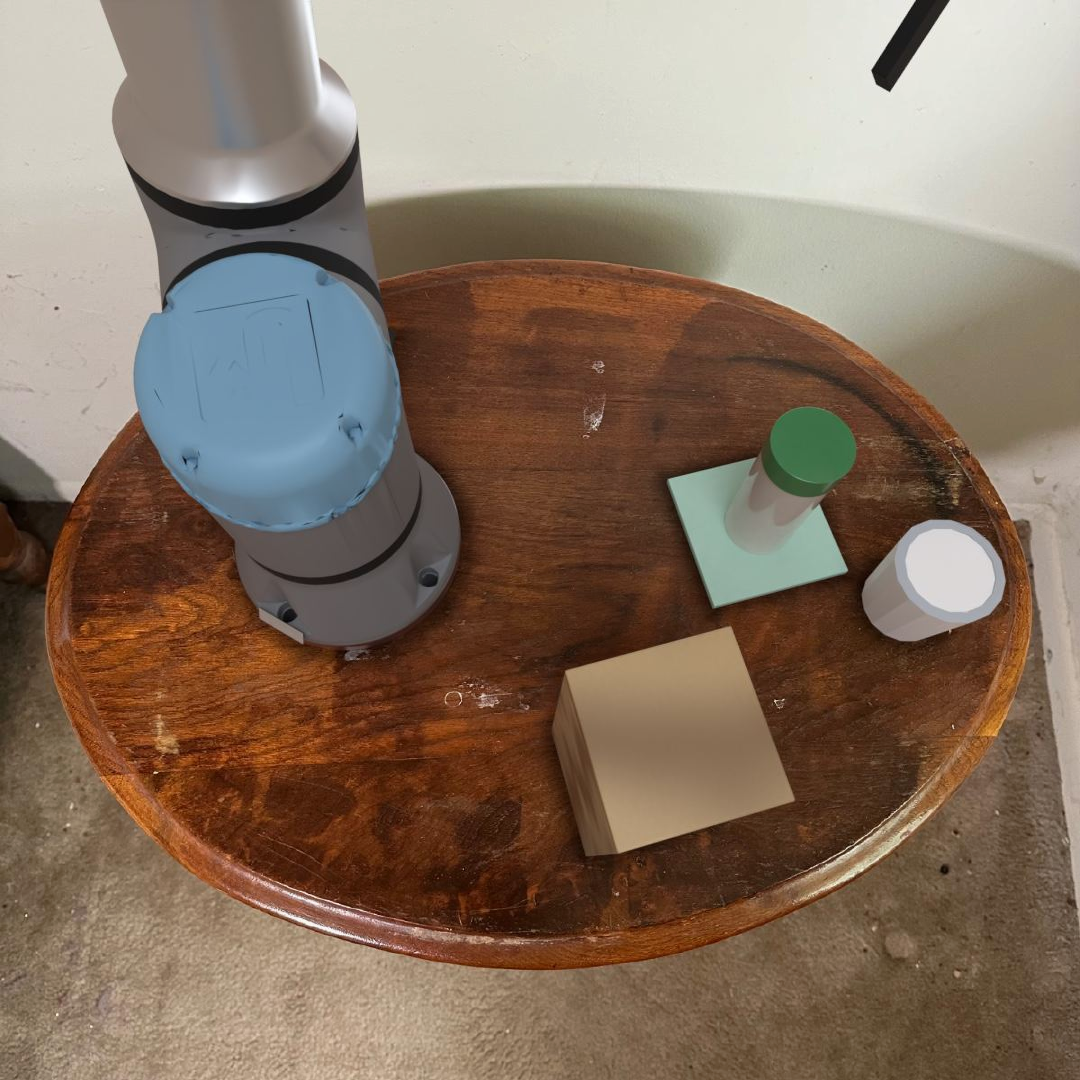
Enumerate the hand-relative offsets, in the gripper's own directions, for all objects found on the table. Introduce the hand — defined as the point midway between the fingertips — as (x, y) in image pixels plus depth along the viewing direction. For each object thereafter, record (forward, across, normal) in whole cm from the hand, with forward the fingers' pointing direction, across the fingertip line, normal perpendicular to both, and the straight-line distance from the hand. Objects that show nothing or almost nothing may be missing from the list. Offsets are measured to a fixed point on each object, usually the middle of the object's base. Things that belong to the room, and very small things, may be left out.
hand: (1014, 157), depth 36 cm
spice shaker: (+24, 0, -14) cm, 28 cm away
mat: (+25, 0, -14) cm, 29 cm away
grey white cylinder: (+24, -12, -16) cm, 31 cm away
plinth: (+39, -4, 0) cm, 39 cm away
